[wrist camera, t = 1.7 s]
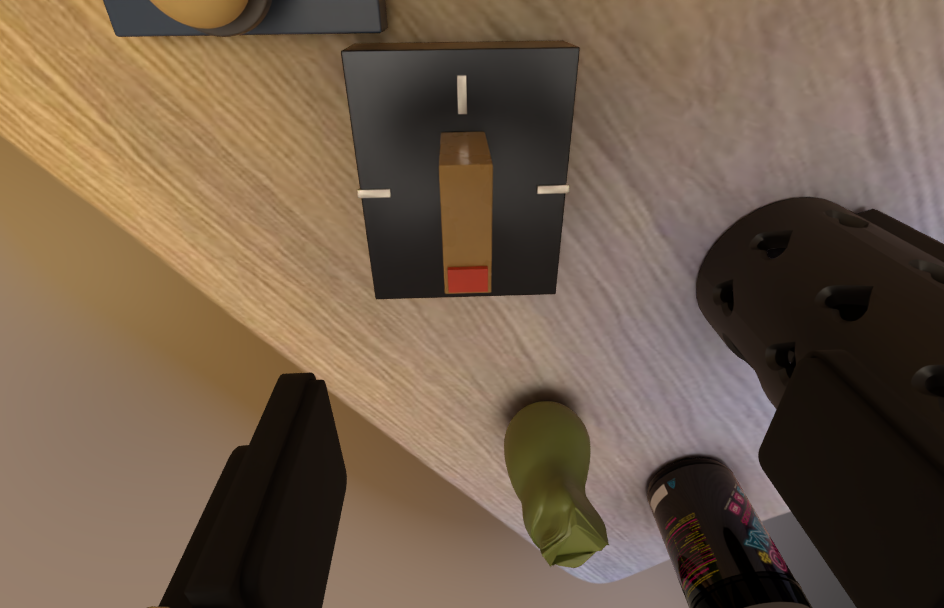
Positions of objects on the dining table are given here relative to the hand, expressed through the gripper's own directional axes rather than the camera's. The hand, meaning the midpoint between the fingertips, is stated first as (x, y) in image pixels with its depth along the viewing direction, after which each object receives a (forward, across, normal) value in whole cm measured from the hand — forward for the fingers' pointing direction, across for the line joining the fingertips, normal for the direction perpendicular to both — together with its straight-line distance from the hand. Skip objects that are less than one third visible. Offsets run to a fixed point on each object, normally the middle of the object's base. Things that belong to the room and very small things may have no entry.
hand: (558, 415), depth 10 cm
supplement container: (+17, -15, +25) cm, 34 cm away
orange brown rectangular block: (+13, +1, 0) cm, 14 cm away
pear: (+17, -4, +17) cm, 24 cm away
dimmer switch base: (+16, +1, 0) cm, 17 cm away
